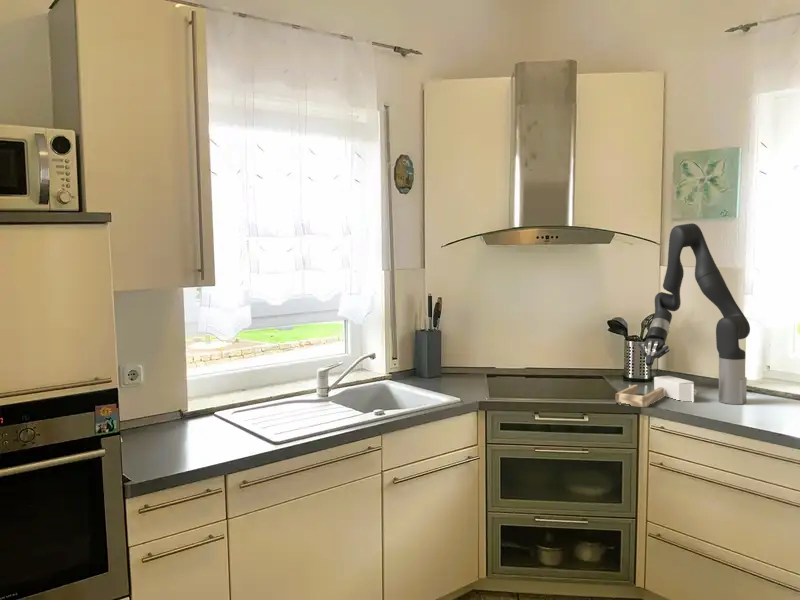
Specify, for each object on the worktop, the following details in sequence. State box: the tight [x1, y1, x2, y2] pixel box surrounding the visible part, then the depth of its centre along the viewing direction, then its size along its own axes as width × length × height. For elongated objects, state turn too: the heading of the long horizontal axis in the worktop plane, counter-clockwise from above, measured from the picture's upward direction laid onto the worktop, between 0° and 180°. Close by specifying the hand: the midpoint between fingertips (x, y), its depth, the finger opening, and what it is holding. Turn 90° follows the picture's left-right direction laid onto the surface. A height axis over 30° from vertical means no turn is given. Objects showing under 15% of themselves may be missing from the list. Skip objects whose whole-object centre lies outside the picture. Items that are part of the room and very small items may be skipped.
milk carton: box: [653, 375, 698, 403], centre depth 273 cm, size 7×7×19 cm
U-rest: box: [614, 384, 664, 408], centre depth 270 cm, size 12×20×4 cm, turn 141°
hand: (648, 364), depth 277 cm, fingers closed
